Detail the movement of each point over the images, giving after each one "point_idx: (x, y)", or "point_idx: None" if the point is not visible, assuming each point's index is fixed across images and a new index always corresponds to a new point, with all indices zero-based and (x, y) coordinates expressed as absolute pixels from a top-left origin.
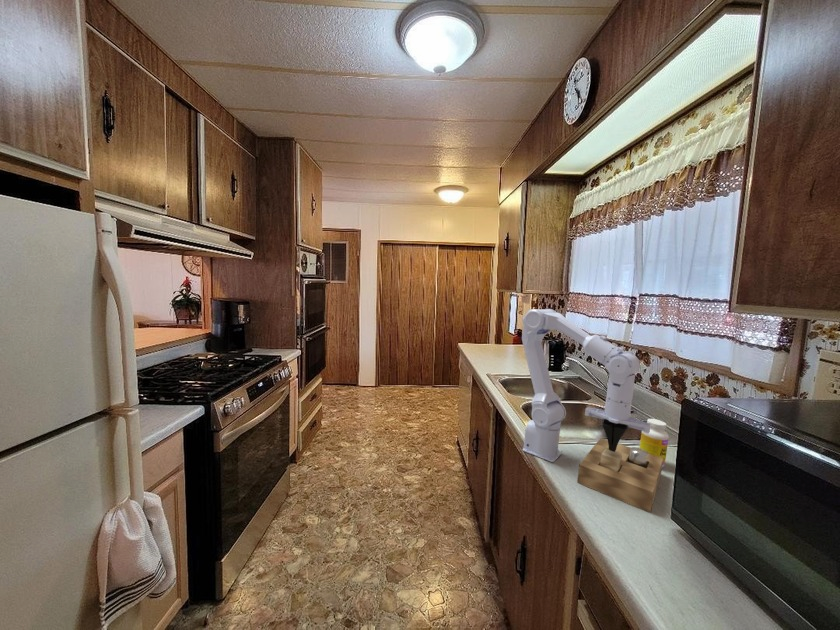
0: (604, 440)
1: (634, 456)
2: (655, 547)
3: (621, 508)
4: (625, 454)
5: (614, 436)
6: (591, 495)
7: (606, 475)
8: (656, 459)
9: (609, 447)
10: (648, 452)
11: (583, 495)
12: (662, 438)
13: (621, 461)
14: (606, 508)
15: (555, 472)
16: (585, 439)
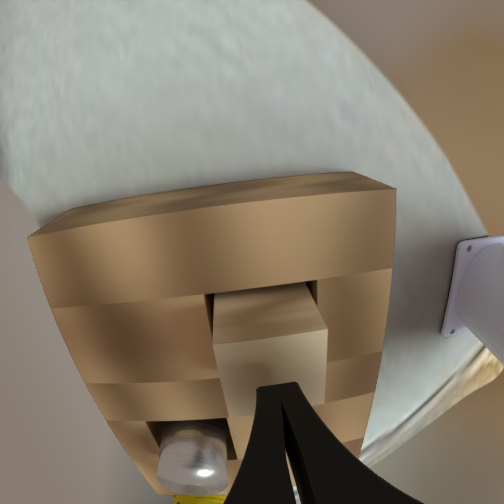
0: None
1: (196, 450)
2: (22, 29)
3: (146, 133)
4: None
5: (285, 487)
6: (272, 119)
7: (241, 202)
8: None
9: (297, 394)
10: (207, 498)
11: (297, 89)
12: None
13: None
14: (190, 76)
15: (435, 179)
16: (381, 454)
